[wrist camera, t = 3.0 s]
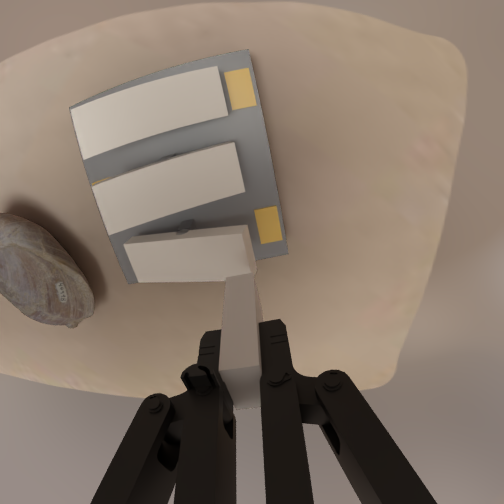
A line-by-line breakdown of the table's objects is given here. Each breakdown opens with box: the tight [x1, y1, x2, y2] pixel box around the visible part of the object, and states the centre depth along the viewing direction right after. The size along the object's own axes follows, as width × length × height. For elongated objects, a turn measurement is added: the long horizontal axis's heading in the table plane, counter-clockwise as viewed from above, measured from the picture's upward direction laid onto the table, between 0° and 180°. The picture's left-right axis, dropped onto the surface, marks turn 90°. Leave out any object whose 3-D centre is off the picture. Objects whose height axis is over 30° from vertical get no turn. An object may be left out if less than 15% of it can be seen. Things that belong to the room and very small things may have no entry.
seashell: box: [0, 213, 95, 328], centre depth 25 cm, size 9×12×15 cm
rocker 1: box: [71, 66, 228, 160], centre depth 18 cm, size 10×4×2 cm, turn 101°
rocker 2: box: [92, 141, 245, 235], centre depth 20 cm, size 10×4×2 cm, turn 101°
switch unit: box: [69, 49, 288, 284], centre depth 23 cm, size 15×17×5 cm
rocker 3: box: [123, 225, 257, 283], centre depth 23 cm, size 10×4×2 cm, turn 102°
